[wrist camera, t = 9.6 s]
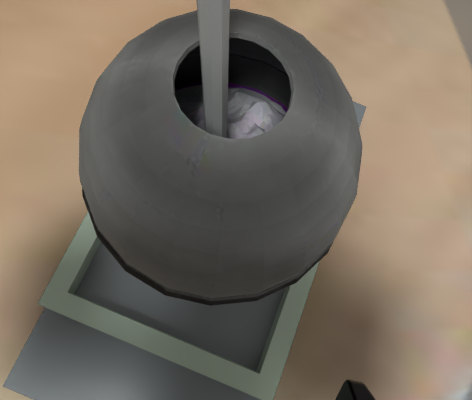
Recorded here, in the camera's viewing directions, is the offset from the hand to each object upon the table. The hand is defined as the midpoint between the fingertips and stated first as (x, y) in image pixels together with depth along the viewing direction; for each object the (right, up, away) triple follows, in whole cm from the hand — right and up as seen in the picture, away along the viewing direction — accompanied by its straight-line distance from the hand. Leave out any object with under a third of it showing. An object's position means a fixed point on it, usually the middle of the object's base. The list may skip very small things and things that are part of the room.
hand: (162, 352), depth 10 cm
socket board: (0, +2, +13) cm, 13 cm away
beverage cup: (0, +1, +12) cm, 12 cm away
